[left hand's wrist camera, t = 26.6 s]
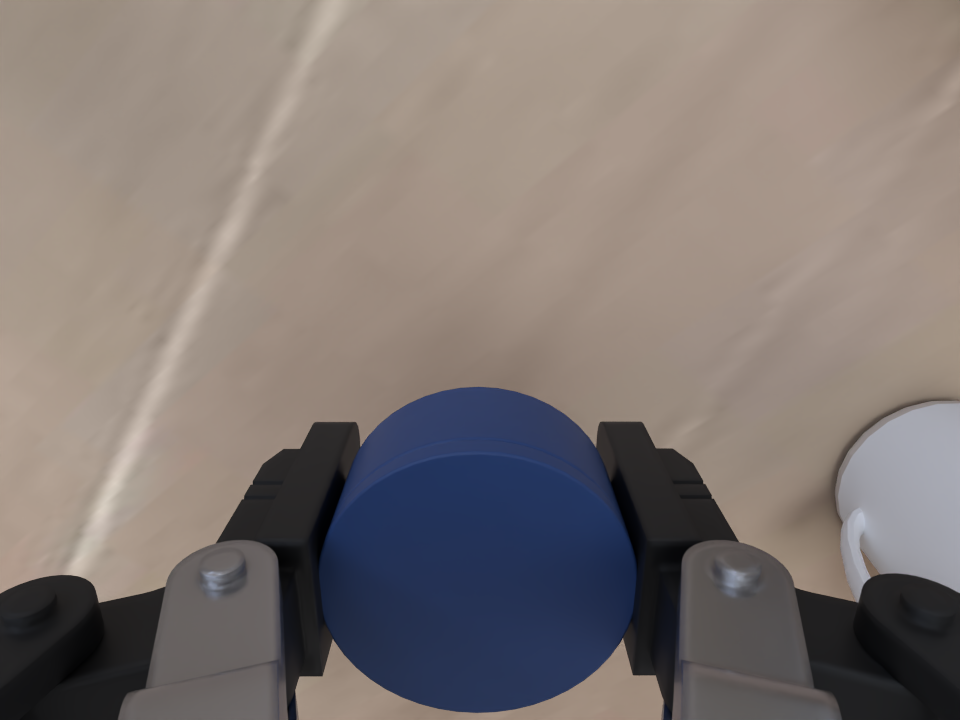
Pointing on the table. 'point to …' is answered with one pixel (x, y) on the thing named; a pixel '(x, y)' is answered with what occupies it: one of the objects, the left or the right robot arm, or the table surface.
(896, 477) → the mug
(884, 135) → the table surface
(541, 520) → the lid
